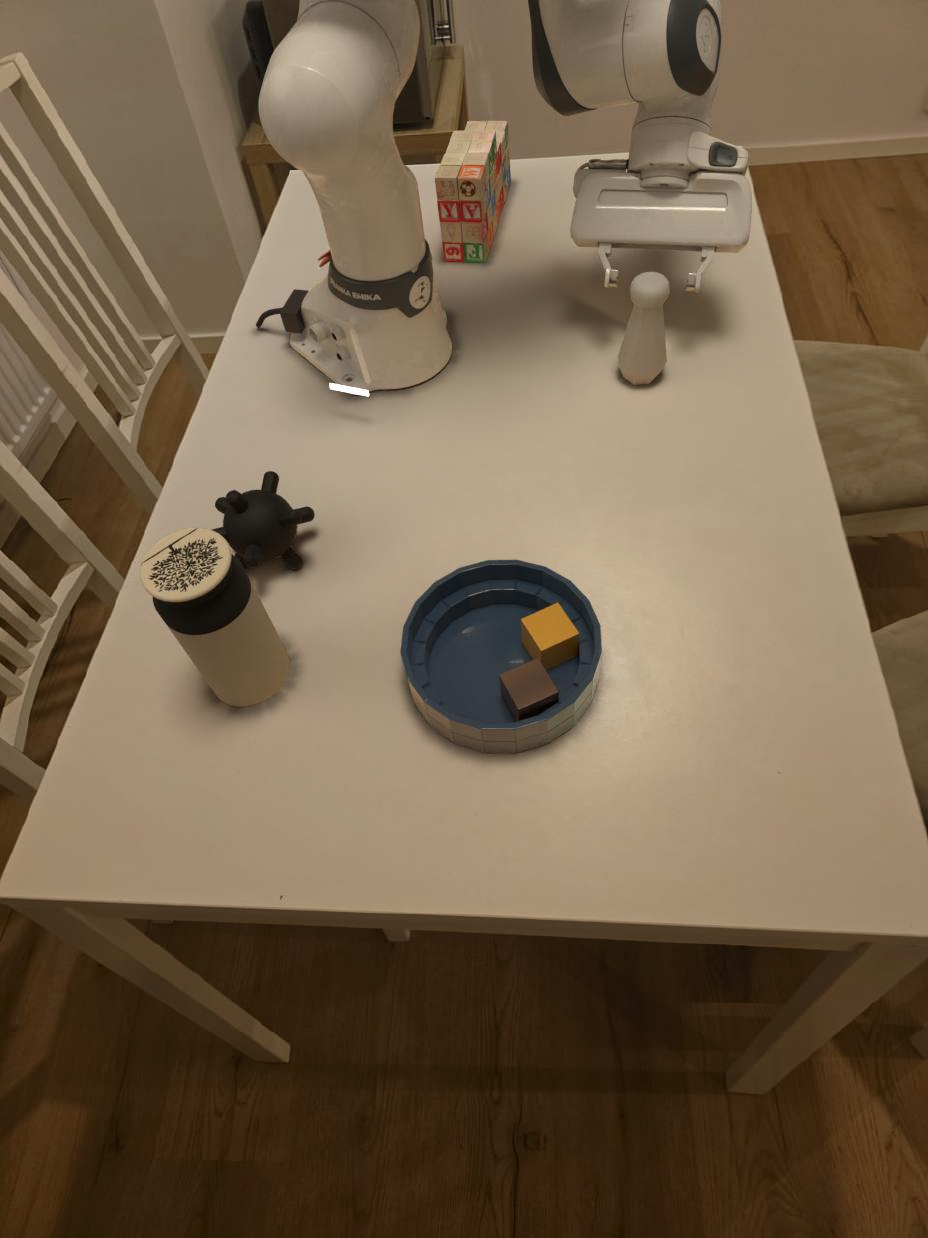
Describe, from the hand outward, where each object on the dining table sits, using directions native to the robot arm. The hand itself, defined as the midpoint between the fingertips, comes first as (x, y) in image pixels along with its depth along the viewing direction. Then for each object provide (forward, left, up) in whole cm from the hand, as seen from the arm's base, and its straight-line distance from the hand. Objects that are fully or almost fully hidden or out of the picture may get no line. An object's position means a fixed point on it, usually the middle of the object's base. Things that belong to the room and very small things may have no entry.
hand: (651, 289), depth 95 cm
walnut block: (+18, -49, -8) cm, 53 cm away
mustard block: (+16, -43, -8) cm, 47 cm away
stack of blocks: (-36, +13, -9) cm, 40 cm away
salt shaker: (+2, -4, -9) cm, 10 cm away
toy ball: (-16, -50, -9) cm, 54 cm away
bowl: (+14, -47, -9) cm, 50 cm away
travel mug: (-6, -62, -9) cm, 63 cm away
